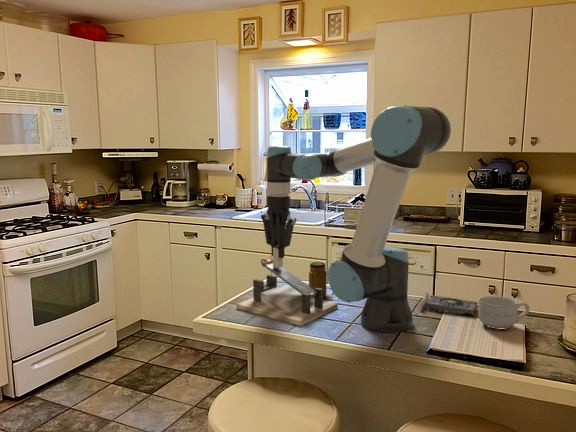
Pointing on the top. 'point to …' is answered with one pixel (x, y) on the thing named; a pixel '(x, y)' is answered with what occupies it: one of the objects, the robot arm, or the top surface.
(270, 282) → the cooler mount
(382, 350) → the top surface
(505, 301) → the teacup
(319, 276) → the condiment
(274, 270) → the retention strap
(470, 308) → the graphics card
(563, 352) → the top surface
